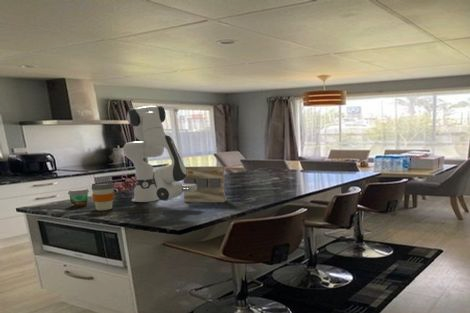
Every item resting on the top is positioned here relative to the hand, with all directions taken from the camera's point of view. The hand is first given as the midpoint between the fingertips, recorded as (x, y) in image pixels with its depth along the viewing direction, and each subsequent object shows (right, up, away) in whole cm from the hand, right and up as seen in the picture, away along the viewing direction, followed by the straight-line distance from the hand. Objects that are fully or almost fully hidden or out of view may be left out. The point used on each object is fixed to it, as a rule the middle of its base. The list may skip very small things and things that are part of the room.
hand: (184, 185), depth 216 cm
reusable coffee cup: (-48, -14, -2) cm, 50 cm away
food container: (-66, -14, +10) cm, 69 cm away
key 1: (+3, -2, +10) cm, 10 cm away
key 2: (+18, -1, +7) cm, 20 cm away
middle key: (+10, -2, +8) cm, 13 cm away
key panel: (+11, -11, +11) cm, 19 cm away
